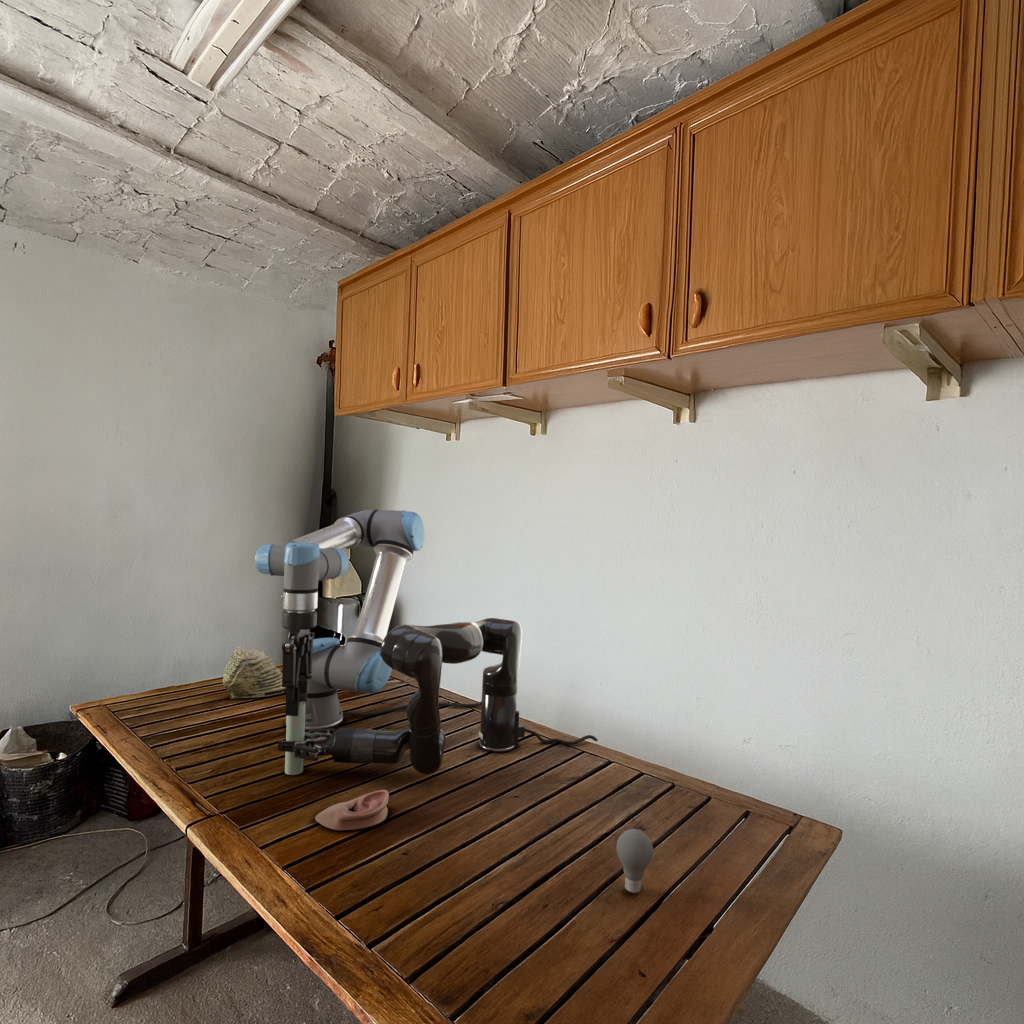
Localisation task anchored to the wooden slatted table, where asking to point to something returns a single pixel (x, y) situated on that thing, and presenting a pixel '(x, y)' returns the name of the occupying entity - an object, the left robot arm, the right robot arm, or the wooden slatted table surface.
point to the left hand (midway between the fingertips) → (296, 711)
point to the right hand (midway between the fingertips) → (283, 741)
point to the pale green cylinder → (295, 733)
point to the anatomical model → (356, 812)
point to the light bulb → (634, 857)
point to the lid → (302, 695)
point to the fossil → (252, 674)
